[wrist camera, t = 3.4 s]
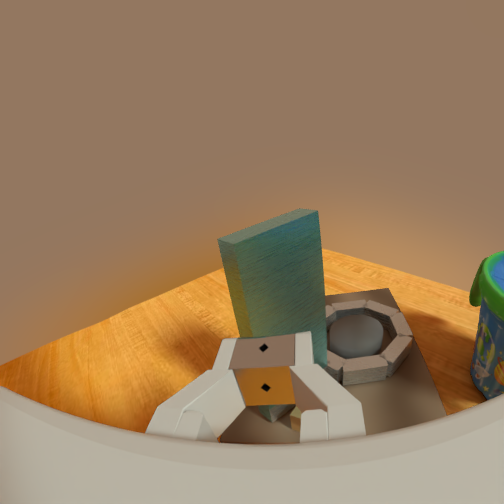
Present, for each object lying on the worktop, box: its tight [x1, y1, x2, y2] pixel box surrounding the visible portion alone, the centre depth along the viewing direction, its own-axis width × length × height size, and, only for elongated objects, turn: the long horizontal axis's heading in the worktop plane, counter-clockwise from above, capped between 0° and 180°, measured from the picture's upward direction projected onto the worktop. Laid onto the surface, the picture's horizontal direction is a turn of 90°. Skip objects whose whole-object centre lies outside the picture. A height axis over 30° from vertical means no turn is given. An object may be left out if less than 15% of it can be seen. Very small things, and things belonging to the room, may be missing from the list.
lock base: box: [220, 288, 447, 444], centre depth 25 cm, size 17×20×3 cm
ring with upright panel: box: [218, 209, 413, 423], centre depth 21 cm, size 13×13×14 cm
